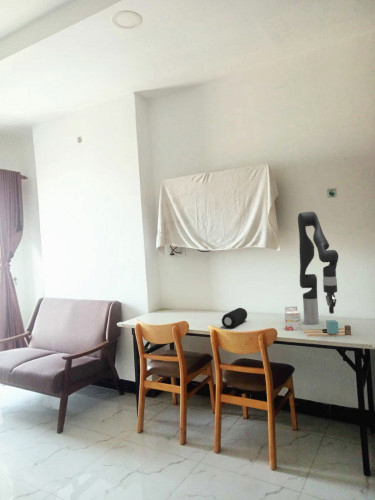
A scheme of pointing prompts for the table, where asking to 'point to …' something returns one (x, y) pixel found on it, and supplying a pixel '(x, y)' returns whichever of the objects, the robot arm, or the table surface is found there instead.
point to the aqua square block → (332, 326)
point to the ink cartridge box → (292, 319)
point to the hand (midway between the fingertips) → (331, 313)
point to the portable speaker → (234, 317)
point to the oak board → (319, 333)
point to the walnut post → (347, 329)
